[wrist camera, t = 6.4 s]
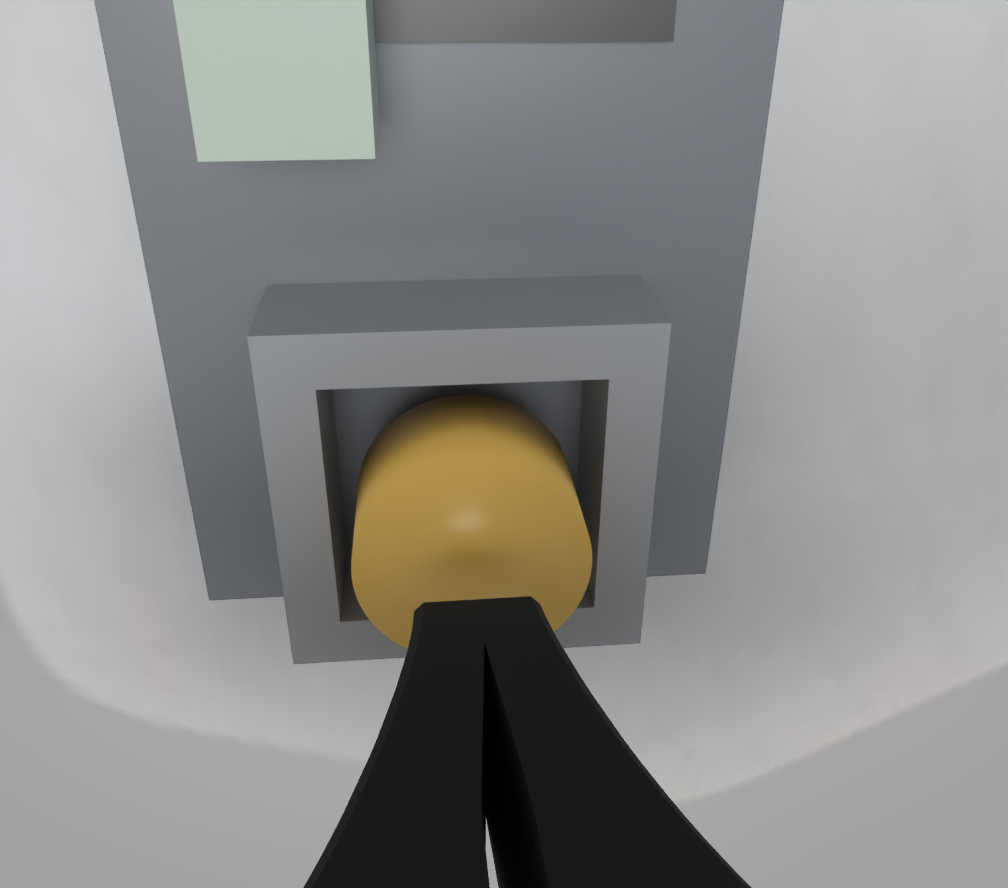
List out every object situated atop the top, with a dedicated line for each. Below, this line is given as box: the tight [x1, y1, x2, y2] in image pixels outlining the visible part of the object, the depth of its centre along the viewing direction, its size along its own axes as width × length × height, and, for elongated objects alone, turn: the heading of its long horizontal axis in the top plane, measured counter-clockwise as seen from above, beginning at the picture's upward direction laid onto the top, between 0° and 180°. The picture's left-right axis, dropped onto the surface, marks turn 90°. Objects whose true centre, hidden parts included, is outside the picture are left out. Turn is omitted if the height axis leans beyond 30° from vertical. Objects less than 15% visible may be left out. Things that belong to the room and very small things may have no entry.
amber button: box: [351, 395, 592, 649], centre depth 13 cm, size 3×3×2 cm
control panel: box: [94, 0, 784, 664], centre depth 12 cm, size 19×9×4 cm, turn 0°
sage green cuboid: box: [173, 0, 380, 162], centre depth 11 cm, size 3×2×2 cm
